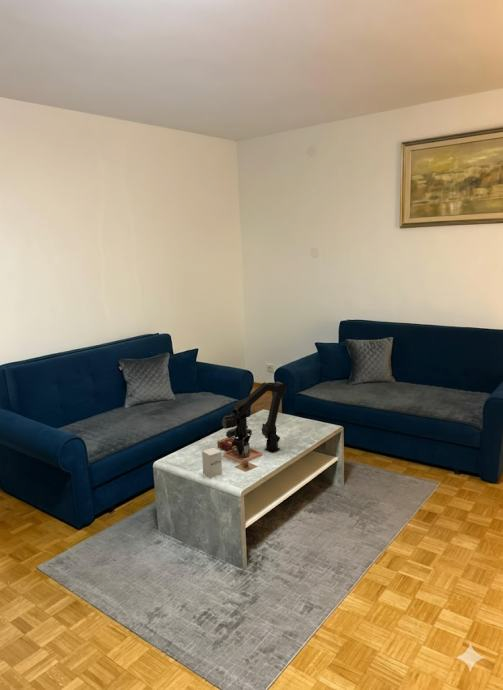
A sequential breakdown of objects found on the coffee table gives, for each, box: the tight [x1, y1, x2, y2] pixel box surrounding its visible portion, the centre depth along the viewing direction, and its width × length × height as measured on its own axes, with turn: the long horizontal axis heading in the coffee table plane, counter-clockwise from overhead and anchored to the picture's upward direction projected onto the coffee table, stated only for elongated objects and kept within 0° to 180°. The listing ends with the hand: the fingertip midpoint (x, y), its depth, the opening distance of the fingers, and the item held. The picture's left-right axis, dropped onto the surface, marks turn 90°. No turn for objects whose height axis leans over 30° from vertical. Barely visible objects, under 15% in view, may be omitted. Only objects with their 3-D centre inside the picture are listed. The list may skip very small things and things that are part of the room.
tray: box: [222, 447, 263, 464], centre depth 276 cm, size 15×15×2 cm
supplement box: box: [201, 447, 223, 479], centre depth 255 cm, size 7×7×13 cm
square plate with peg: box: [234, 460, 258, 473], centre depth 262 cm, size 9×9×4 cm
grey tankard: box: [233, 442, 251, 457], centre depth 275 cm, size 9×7×6 cm
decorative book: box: [216, 436, 250, 453], centre depth 288 cm, size 11×16×5 cm
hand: (242, 451), depth 276 cm, fingers closed on grey tankard, 7 cm apart
